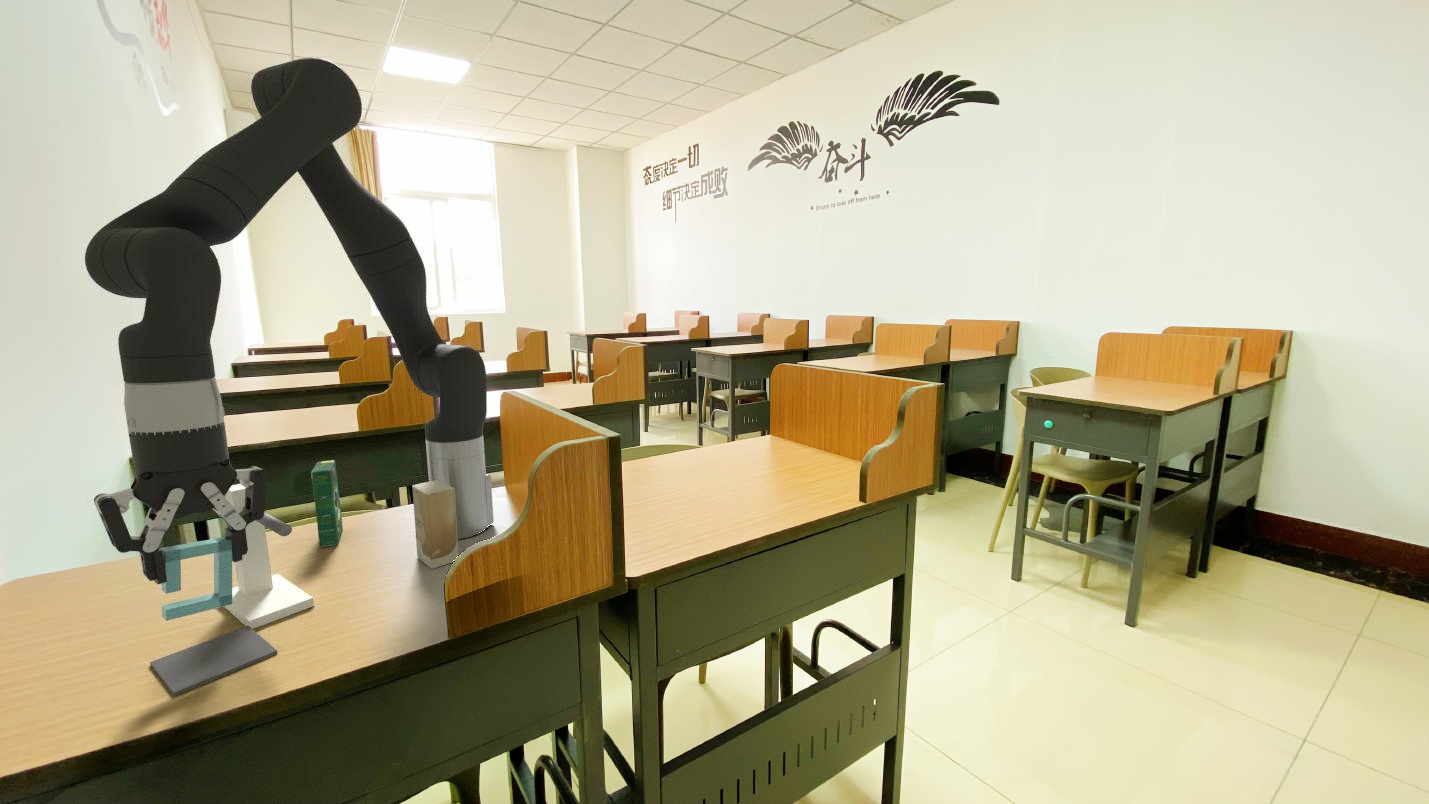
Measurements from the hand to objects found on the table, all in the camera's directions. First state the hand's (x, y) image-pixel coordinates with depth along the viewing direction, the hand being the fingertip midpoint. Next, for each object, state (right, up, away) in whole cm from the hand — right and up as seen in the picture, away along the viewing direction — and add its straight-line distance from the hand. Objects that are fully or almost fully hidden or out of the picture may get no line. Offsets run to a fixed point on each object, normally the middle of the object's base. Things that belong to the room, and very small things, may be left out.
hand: (199, 569), depth 64 cm
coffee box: (-9, -5, +36) cm, 37 cm away
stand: (-2, -9, +13) cm, 16 cm away
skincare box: (+13, -7, +28) cm, 31 cm away
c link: (0, -5, 0) cm, 5 cm away
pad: (0, -11, +2) cm, 11 cm away
